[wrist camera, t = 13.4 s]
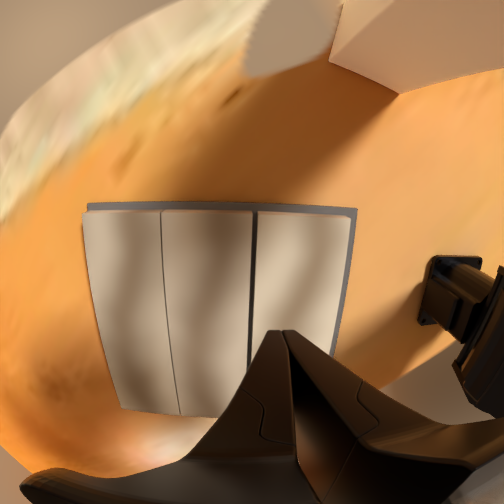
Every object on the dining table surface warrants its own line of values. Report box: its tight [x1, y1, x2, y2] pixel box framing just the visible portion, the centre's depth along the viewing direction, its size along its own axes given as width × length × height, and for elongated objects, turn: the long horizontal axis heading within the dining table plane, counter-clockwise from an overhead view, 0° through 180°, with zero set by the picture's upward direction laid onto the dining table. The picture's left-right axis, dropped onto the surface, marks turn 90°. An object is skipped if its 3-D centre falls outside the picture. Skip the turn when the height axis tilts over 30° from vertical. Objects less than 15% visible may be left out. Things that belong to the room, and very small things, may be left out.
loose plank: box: [251, 211, 351, 362], centre depth 22 cm, size 6×18×1 cm, turn 178°
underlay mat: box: [87, 201, 358, 372], centre depth 22 cm, size 19×18×1 cm
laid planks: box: [82, 209, 253, 418], centre depth 21 cm, size 12×18×1 cm, turn 178°
